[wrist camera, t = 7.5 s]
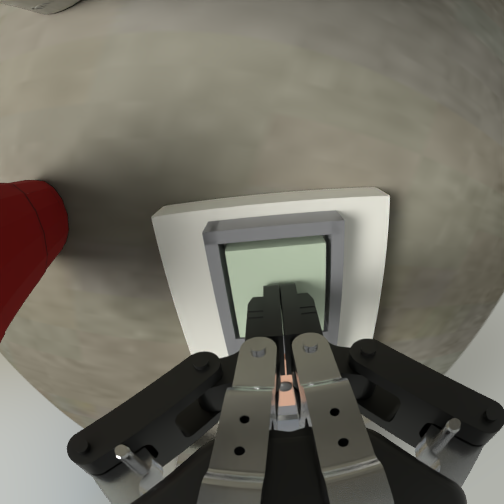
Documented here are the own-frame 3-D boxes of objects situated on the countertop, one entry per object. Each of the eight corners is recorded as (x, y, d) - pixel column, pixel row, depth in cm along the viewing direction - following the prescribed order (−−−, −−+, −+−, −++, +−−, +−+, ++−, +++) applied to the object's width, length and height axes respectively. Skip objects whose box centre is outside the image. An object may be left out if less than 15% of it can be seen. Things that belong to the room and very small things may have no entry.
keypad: (163, 206, 15) (139, 227, 12) (375, 186, 14) (403, 204, 11) (226, 421, 24) (223, 449, 21) (344, 412, 23) (350, 440, 20)
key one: (228, 238, 13) (224, 253, 12) (319, 230, 13) (326, 244, 12) (241, 319, 16) (239, 339, 14) (318, 313, 15) (323, 332, 14)
